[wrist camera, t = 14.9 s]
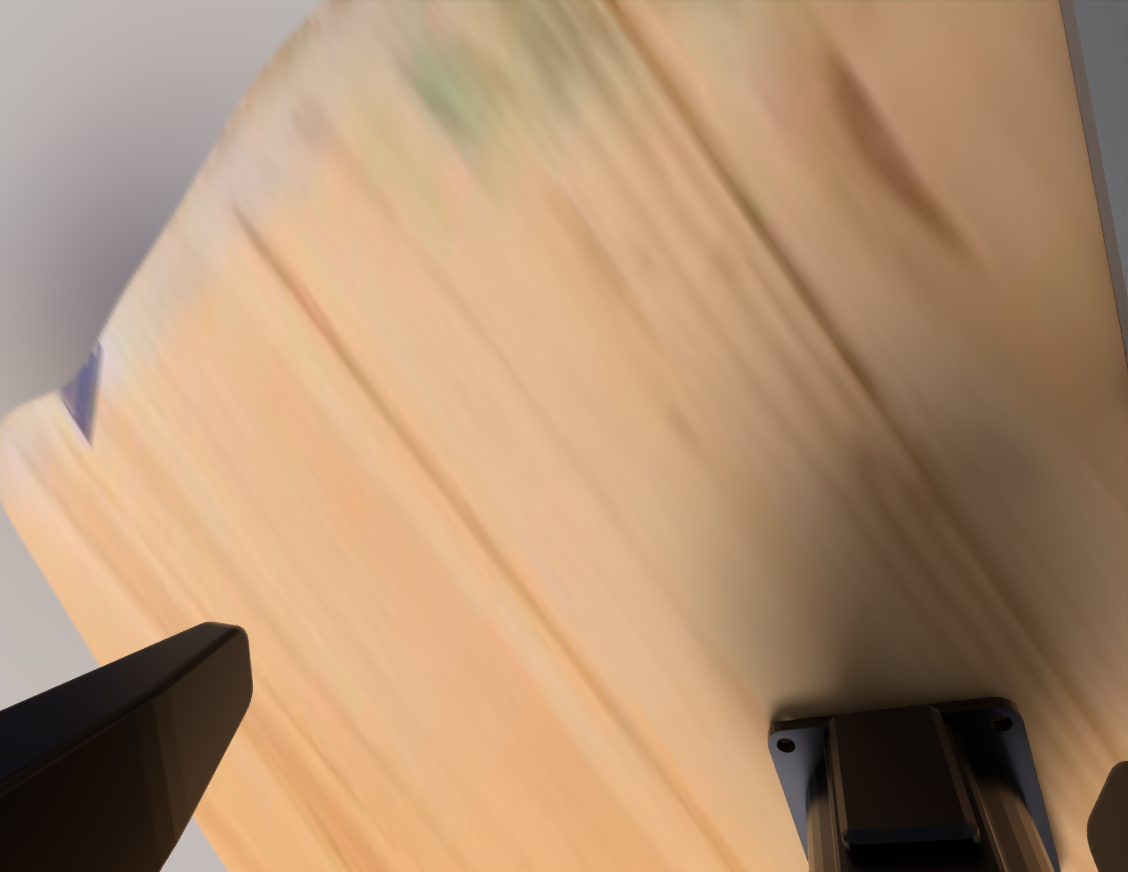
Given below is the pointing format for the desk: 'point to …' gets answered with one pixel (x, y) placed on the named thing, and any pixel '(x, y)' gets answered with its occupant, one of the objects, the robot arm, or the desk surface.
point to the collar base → (1105, 121)
